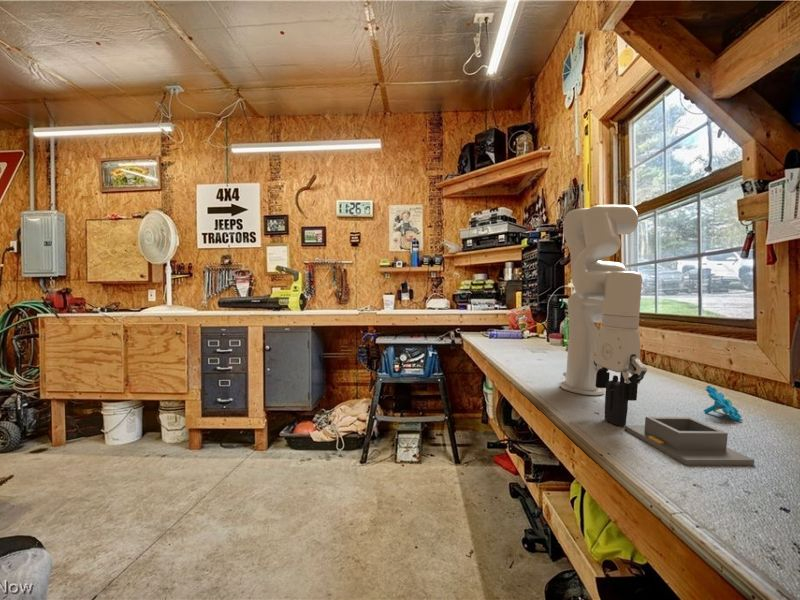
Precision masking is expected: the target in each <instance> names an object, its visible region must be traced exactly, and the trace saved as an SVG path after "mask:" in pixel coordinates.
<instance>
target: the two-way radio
mask: <svg viewBox="0 0 800 600" xmlns="http://www.w3.org/2000/svg"><path fill="white" fill-rule="evenodd" d="M619 376H620V377H618V375H615V374H614V375H612V380H609V382H607V383H606V386H605V387H606V388H605V392H604V395H605V396H604V420H605V421H607V422H609V423H611V424H612V425H616V426H617V425H620V426H619V427H621V426H622V427H623V426H624V427H625V425H627V416H628V409H629V406H628V404H629V400H623V399H622V389H623V382H625V379H624V377H623V375H622V372H620V375H619ZM625 383H626V382H625Z"/></svg>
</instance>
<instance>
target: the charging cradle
mask: <svg viewBox="0 0 800 600" xmlns="http://www.w3.org/2000/svg"><path fill="white" fill-rule="evenodd" d="M644 420H645V421H644V425H641V424H640V425H635V424H634V425H633V424H632V425H628V424H626V425H625V426H624V429H626V430H627V432H628V431H629V432H628V433H630V434H631V433H632V434H631V435H633V434H634V435H633V436H634V437H637V438H638V437H639V439H640V438H641V439H640V440H642V441H643V440H644V442H645V441H646V442H645V443H647V442H648V443H647V444H649V443H650V444H651V446H652V445H653V448H656V449H657V450H659V451H660V452H662V453H665V454H666V455H668V456H670V457H671V458H673V459H675V460H676V461H679V463H682V464H684V465H686V466H755V459H753V458H751V457H749V456H747V455H744V454H742V453H741V452H738V451H736V450H734V449H732V448H730V447H727V446H728V445H727V444H728V435H729V433H727V432H725V431H723V430H721V429H719V428H716V427H715V426H714V427H713V426H711V425H709V424H706V423H704V422H702V421H700V420H697V419H694V418H692V417H689V416H687V417H686V416H645V419H644ZM626 430H625V431H626ZM650 444H649V445H650Z"/></svg>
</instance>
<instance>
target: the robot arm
mask: <svg viewBox="0 0 800 600" xmlns="http://www.w3.org/2000/svg"><path fill="white" fill-rule="evenodd" d="M638 214H639V213H638V211H637V210H636V208H635V207H634V206H632V205H629V204H628V205H627V204H604V205H602V204H600V205H594V206H590V207H583V208H581V207H580V208H575V209H572V210H570V211H568V212H567V213H566V214H565V216H564V219H563V227H562V228H563V236H564V239H565V242H566V244H567V247H568V250H569V254H570V271H571V272H570V275H571V276H570V277H571V282H572V283H571V284H572V285H573V287H574V291H575V292H574V293H572V294H571V295H570V296H569V297H568V299H567V312H568V313H567V314H568V340H567V341H568V342H567V343H568V344H567V359H566V371H565V372H563V373H562V377H565V380H563V381H561V382H560V383H559V385H560V388H561V389H563V390H565V391H568V392H570V393H574V394H578V395H584V396H586V395H587V396H601V395H605V389H606V387H605V386H606V383H607V382H609V381H610V376H611V375H610V372H609V371H612V372H615V373H621V372H622V375H623V377H624V379H625V382H623V389H622V399H623V400H628V401H632V402H633V401H636V400H637V399H638V388H639V387H638V385H639V384H641V381H642V380H643V379H644V378H645V377H644V376H645V375H646V374H647V371H648V368H647V366H646V365H645V364H644V363H643V362H642V361H641V338H640V331H639V327H640V326H639V325H640V312H641V301H642V300H641V299H642V298H641V295H642V288H643V287H642V286H643V277H642V275H641V273H639V272H636V271H628V270H627V268H626V266H625V265H624V264H622V263H621V262H617V261H603V260H606V259H608V258H610V257H612V256H614V255H615V254H616V253H618V252H619V250H620V248H621V245H622V243H621V238H620V235H630V234H631V233H634V231H636V229H637V227H638V224H639V215H638ZM595 323H601V326H600V327H599V328H598V327H596V325H595Z"/></svg>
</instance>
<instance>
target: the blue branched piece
mask: <svg viewBox="0 0 800 600" xmlns="http://www.w3.org/2000/svg"><path fill="white" fill-rule="evenodd" d="M705 391H706V392H707V394H708V397H709V398H711V399H712V400H714V401H713V402H714V403H713V405H711V406H709V407H706V408H705V409H703V412H704V413H705V414H709V413H711V412H716V411H718V410H721V411H722V412H723V413H724V414H725V415H728V414H729V418H730V419H732V420H733V421H737V422H740V421H742V418H743V416H742V415H741V414H739V410H738V409H737V408H736V407H734V406H733V403H732V400H731V399H729V398H727V399H726V398H725V394H723V393H722V392H718V389H717V388H716V387H714V386H713V387H712V386H711V385H707V386H706V387H705Z"/></svg>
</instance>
